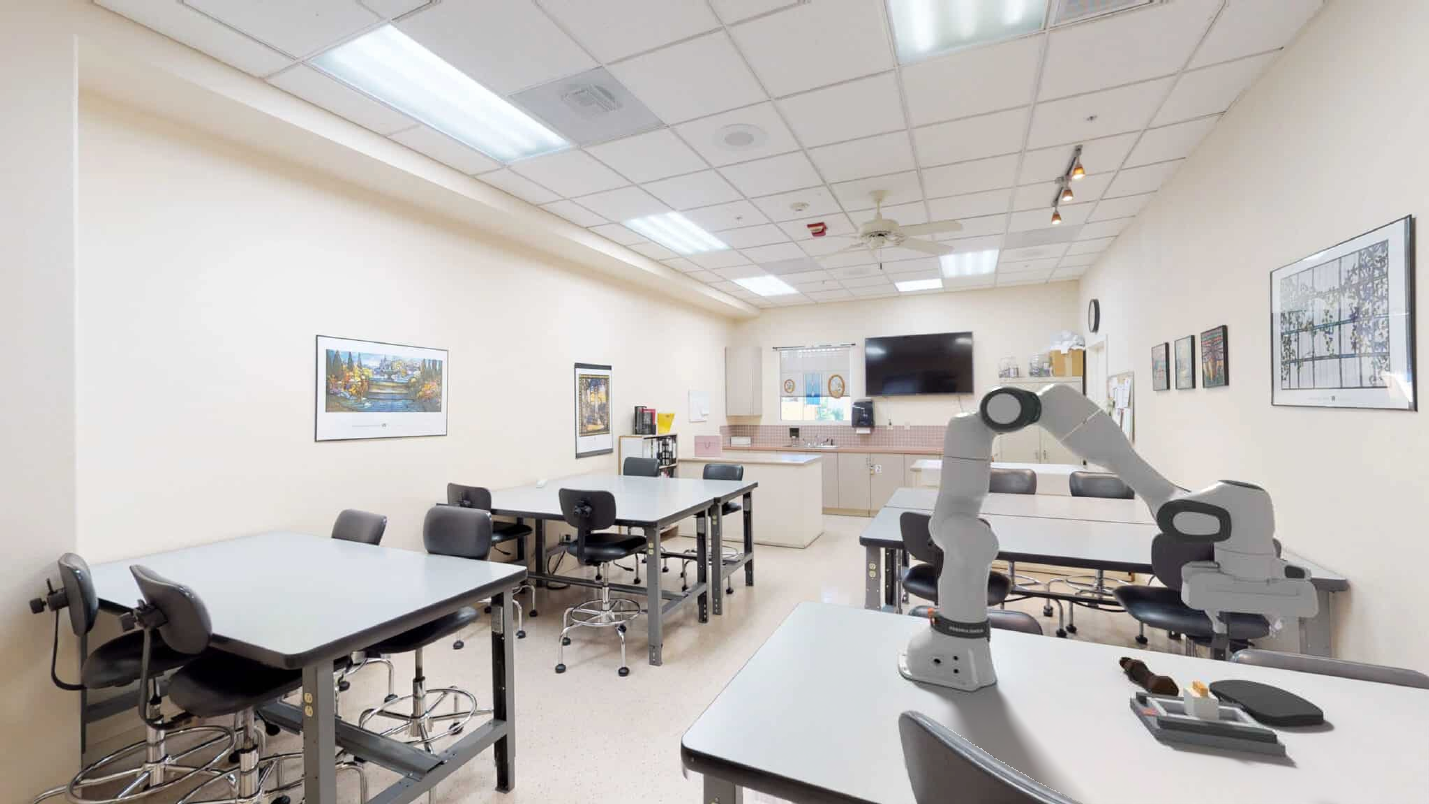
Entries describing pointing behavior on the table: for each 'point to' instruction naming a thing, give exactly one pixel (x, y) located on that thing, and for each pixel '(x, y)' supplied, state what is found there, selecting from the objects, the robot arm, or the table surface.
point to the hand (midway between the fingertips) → (1248, 634)
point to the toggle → (1200, 702)
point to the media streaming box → (1268, 703)
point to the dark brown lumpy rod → (1149, 677)
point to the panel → (1203, 737)
